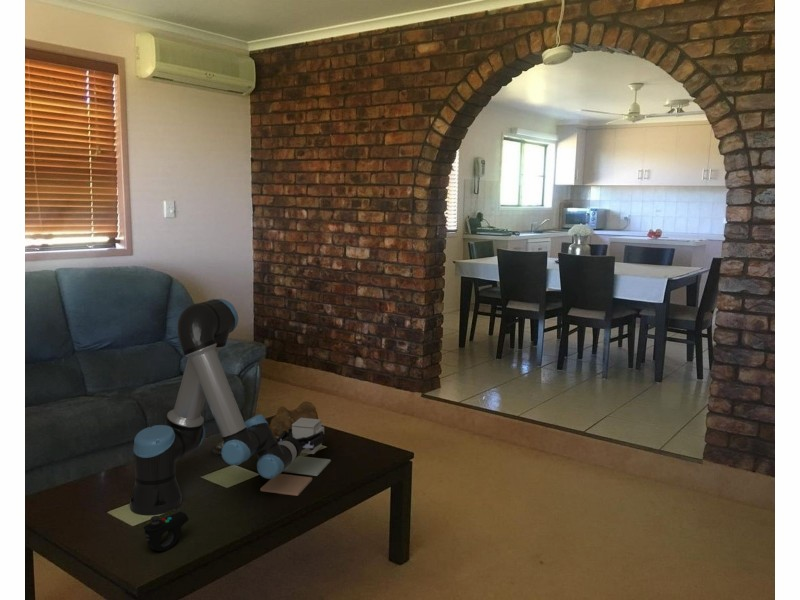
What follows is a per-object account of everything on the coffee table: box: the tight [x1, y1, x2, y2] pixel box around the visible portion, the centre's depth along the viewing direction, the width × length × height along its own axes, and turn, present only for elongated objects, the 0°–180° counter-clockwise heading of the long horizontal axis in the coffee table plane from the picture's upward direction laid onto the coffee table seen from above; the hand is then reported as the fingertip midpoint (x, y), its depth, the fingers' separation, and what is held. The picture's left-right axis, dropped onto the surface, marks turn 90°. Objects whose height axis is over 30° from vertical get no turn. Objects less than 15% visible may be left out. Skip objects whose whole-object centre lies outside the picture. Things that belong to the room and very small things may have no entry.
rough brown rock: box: [269, 400, 319, 439], centre depth 255 cm, size 23×17×15 cm
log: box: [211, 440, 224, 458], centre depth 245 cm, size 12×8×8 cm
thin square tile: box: [259, 473, 313, 497], centre depth 217 cm, size 13×13×1 cm
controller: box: [143, 511, 189, 552], centre depth 175 cm, size 4×12×10 cm, turn 146°
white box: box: [292, 418, 323, 455], centre depth 232 cm, size 8×8×10 cm
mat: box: [281, 455, 332, 477], centre depth 233 cm, size 14×14×1 cm
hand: (311, 429), depth 236 cm, fingers closed on white box, 8 cm apart
